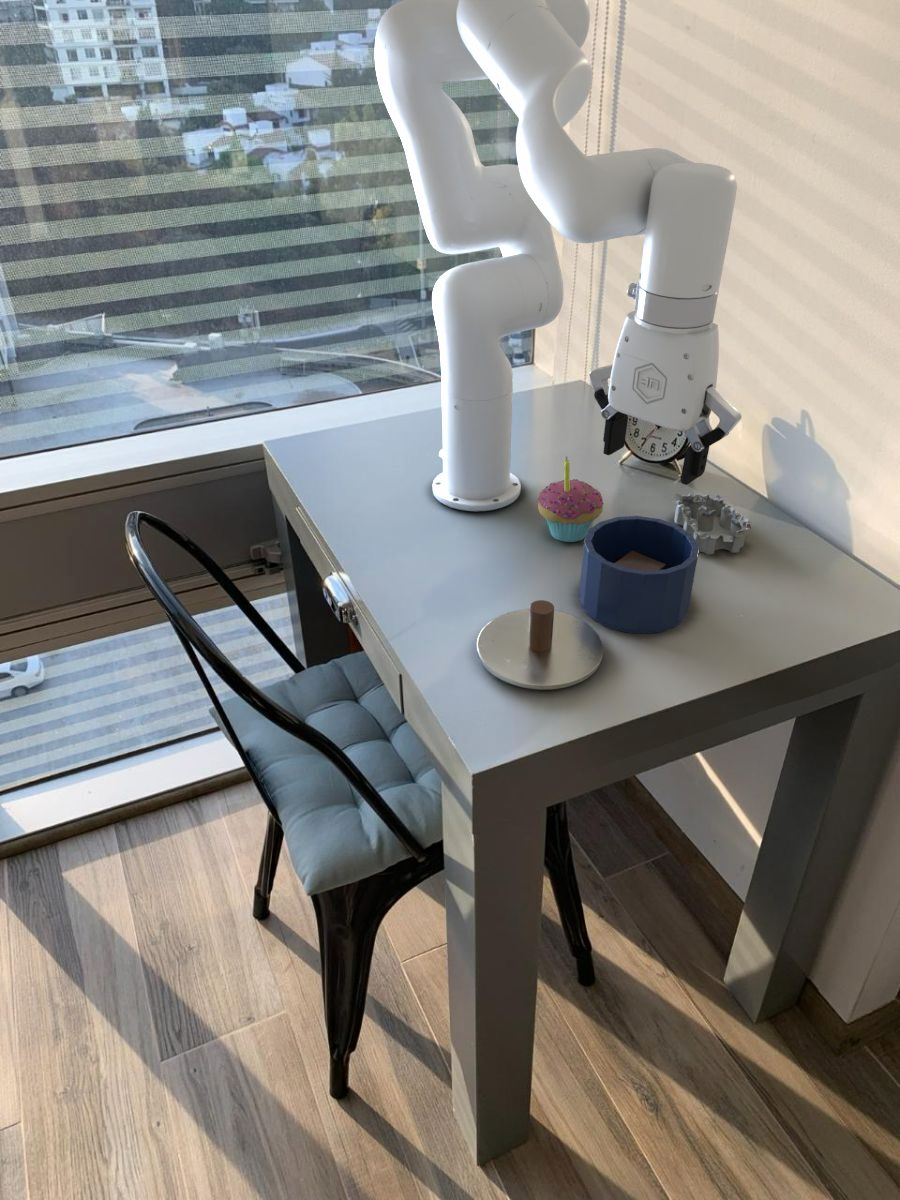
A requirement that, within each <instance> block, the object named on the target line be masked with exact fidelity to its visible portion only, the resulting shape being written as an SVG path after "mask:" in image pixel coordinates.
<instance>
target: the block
mask: <svg viewBox="0 0 900 1200" xmlns="http://www.w3.org/2000/svg"><path fill="white" fill-rule="evenodd" d="M614 564H616V565H619V566H621V567H624V568H630V569H637V570H643V571H649V570H665V568H666V564H664V563H661V562H659V561H656V560H654V559H651V558H649V557H647V556H644V555H642V554H639V553H637V552H634V551H631V552H630V553H628V554H627V555H625V556H624V557H623V558H621V559H620V560H618V561H617V562H616V563H614Z"/></svg>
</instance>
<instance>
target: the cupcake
mask: <svg viewBox="0 0 900 1200" xmlns="http://www.w3.org/2000/svg"><path fill="white" fill-rule="evenodd" d="M570 465H571V464H570V460H569V459H568V455H565V460H564V461H563V466H564V468H563V470H564V471H563V473H564V475H563V477H564V479H562V480H559V481H555V482H553V483H552V482H551V483H549V485H547V486H545V488H544V489H542V490H541V491H540V492H539V496H538V499H537V500H538V501H537V506H538V507H537V508H538V511H539V513H540V515H541V516H542V517H543V518H545V520H546V522H547V526H548V530H549V533H550V535H551V537H553V538H554V539H556V540H557V541H560V542H565V543H576V542H580V541H582V540H583V539H585V537H586V534H587V532H588V530H589V529H591V526H592V524H593V522H595V520H597V519H598V518H599V517H600V516H601V515H602V514H603V512H604V501H603V500H604V499H603V496H602V493H601V492H600V491H599V490H598V488H595V487H594V486H592V485H590V484H589V483H587V482H585V481H583V480H579V479H577V478H576V479H575V478H573V479H570V478H571V477H570V476H571V475H570V474H571V473H570V470H571V467H570Z"/></svg>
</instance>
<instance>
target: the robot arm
mask: <svg viewBox="0 0 900 1200" xmlns="http://www.w3.org/2000/svg"><path fill="white" fill-rule="evenodd" d="M588 1H589V0H401V1H398V2H396V3H395V4H393V5H391V6H390V7H388V9H387V10H386V11H385V12H384V14H383V15H382V16H381V18H380V20H379V22H378V24H377V29H376V33H375V39H374V66H375V73H376V78H377V83H378V87H379V90H380V94H381V96H382V100H383V103H384V105H385V107H386V109H387V112H388V114H389V116H390V118H391V121H392V122H393V124H394V126H395V128H396V131H397V133H398V136H399V137H400V140H401V143H402V146H403V149H404V152H405V156H406V161H407V166H408V171H409V173H410V177H411V180H412V185H413V188H414V193H415V197H416V201H417V205H418V208H419V212H420V216H421V220H422V224H423V227H424V230H425V233H426V236H427V239H428V240H429V243H430V245H431V246H432V248H434V249H435V250H436V251H437V252H440V253H442V254H445V255H446V254H447V255H459V254H460V255H461V254H466V253H473V252H474V253H475V252H479V251H483V250H490V249H494V248H499V249H500V252H501V254H502V256H500V257H492V258H487V259H486V258H485V259H481V260H476V261H472V262H466V263H463V264H459V265H457V266H455V267H452V268H450V269H448V270H447V271H445V272H444V273H443V274H442V275H441V276H440V277H439V278H438V279H437V281H436V282H435V285H434V287H433V290H432V294H431V303H432V312H433V317H434V322H435V323H434V324H435V327H436V331H437V332H436V333H437V336H438V339H437V340H438V345H439V346H438V347H439V354H440V372H441V418H442V419H441V420H442V421H441V422H442V424H441V425H442V431H441V432H442V449H440V450H439V452H438V456H439V458H440V459H442V472H441V473H439V474H438V475H437V476H436V477H435V478H434V479H433V482H432V494H433V496H434V498H435V499H436V500H437V501H438V502H440V503H442V504H443V505H444V506H447V507H449V508H451V509H456V510H459V511H465V512H488V511H494V510H498V509H501V508H504V507H507V506H509V505H511V504H512V503H515V501H516V500H517V499H518V498H519V496H520V495H521V489H522V488H521V486H522V485H521V481H520V479H519V478H518V477H517V476H516V475H515V474H514V473H512V472H511V457H512V456H511V455H512V429H513V426H512V425H513V397H514V372H513V368H512V364H511V362H510V360H509V358H508V356H507V355H506V354H505V352H504V351H503V349H502V348H501V346H500V339H502V338H504V337H508V336H510V335H513V334H517V333H522V332H526V331H530V330H535V329H537V328H542V327H544V326H546V325H549V324H550V323H552V322H553V321H554V320H555V319H556V318H557V317H558V316H559V314H560V312H561V310H562V307H563V304H564V303H563V302H564V295H565V294H564V293H565V292H564V282H563V276H562V269H561V265H560V261H559V256H558V251H557V247H556V242H555V239H554V233H553V229H555V230H556V231H557V232H558V233H559V234H560V235H561V236H563V237H564V238H566V239H568V240H570V241H571V242H573V243H578V244H592V243H598V242H599V243H600V242H602V241H603V242H604V241H609V240H614V239H618V238H619V239H620V238H623V237H624V238H625V237H632V236H633V237H634V236H640V235H644V238H643V239H644V240H643V248H642V256H641V263H640V269H639V271H640V272H639V279H638V282H637V283H635V282H631V283H630V284H629V285H628V287H627V291H626V293H627V297H630V298H633V299H634V309H635V310H633V311H630V312H628V313H627V314H626V317H625V320H624V322H623V325H622V328H621V331H620V334H619V338H618V341H617V345H616V349H615V353H614V357H613V361H612V364H608V365H604V366H600V367H597V368H595V369H593V370H591V371H589V380H590V382H591V386H592V389H593V390H594V393H593V396H594V400H595V401H596V403H597V404H598V406H599V408H600V409H601V412H600V414H601V418H603V420H605V421H604V431H603V439H602V441H603V443H604V444H603V452H602V453H603V454H604V455H606V456H611V455H613V454H615V453H616V452H618V451H620V450H621V449H623V448H624V447H625V445H626V437H627V430H628V421H629V416H630V417H633V418H635V419H638V420H640V421H644V422H646V423H649V424H652V425H655V426H659V427H662V428H665V429H668V430H669V431H670V430H671V431H673V432H683V433H684V434H685V436H686V438H687V440H688V442H689V444H690V446H689V447H688V448H687V449H686V450H685V453H684V457H683V458H684V459H683V464H682V469H681V475H680V482H681V484H683V485H685V486H688V485H689V484H691V483H692V482H694V481H695V480H697V479H698V478H700V477H701V476H703V474H704V473H705V470H706V466H707V461H708V457H709V451H710V447H711V446H712V445H714V444H716V443H718V442H720V441H721V440H723V439H724V438H725V437H727V436H728V435H729V434H730V432H731V431H732V430H733V429H734V428H735V427H736V426H737V424H738V423H739V422H740V421H741V420H742V413H740V411H738V410H737V408H736V407H734V406H733V405H732V403H730V402H729V401H728V400H727V399H726V398H725V397H724V396H723V395H722V394H721V393H720V392H719V391H717V390H716V389H717V381H718V372H719V357H720V356H719V354H720V338H719V325H718V324H717V323H715V322H714V320H715V314H716V308H717V303H718V297H719V291H720V286H721V281H722V276H723V270H724V264H725V258H726V253H727V247H728V242H729V236H730V231H731V224H732V220H733V213H734V208H735V203H736V198H737V190H738V185H737V184H738V183H737V178H736V176H735V174H734V173H733V172H732V171H731V170H730V169H728V168H726V167H723V166H720V165H717V164H712V163H703V162H694V161H691V160H690V159H688V158H685V157H683V156H682V155H680V154H679V153H676V152H674V151H672V150H669V149H666V148H661V147H649V148H641V149H633V150H621V151H614V152H606V153H598V154H592V155H585V153H584V152H582V151H581V150H580V148H579V147H578V146H577V145H576V143H575V142H574V141H573V140H572V139H571V137H570V136H569V134H568V133H567V132H566V131H565V129H564V128H565V127H566V126H567V125H568V124H569V123H570V122H571V121H572V120H573V118H575V116H577V114H578V113H579V111H580V110H581V109H582V107H583V106H584V104H585V103H586V101H587V99H588V98H589V97H588V96H589V94H590V91H591V90H592V89H591V88H592V86H593V85H592V84H593V75H594V73H593V68H592V64H591V61H590V60H589V58H588V56H587V55H586V54H585V53H584V52H583V51H582V50H581V49H582V47H583V45H584V44H585V42H586V40H587V37H588V33H589V29H590V21H591V17H590V16H591V13H590V12H591V11H590V5H589V2H588ZM478 80H481V81H482V80H489V81H490V82H491V83H492V85H493V86H494V87H495V89H496V90H497V91H498V92H499V94H500V95H501V96H502V98H503V99H504V100H505V102H506V104H507V105H508V106H509V107H510V109H511V110H512V111H513V113H514V114H515V115H516V116H517V119H518V123H517V127H516V133H515V134H516V135H515V151H516V160H517V164H513V163H511V164H510V163H504V164H503V163H502V164H495V165H494V164H493V165H487V166H485V165H484V164H482V162H481V159H480V157H479V154H478V151H477V148H476V143H475V139H474V134H473V131H472V128H471V125H470V122H469V121H468V119H467V118H466V116H465V114H464V113H463V112H462V110H461V108H460V107H459V106H458V105H457V103H456V102H455V100H453V99H452V98H451V96H449V95H448V94H447V93H446V92H445V91H444V90H443V88H442V83H449V82H450V83H451V82H464V81H465V82H468V81H478ZM552 227H553V229H552ZM711 413H713V414H715V415H716V416H717V417H718V419H719V422H718V424H717V425H716V426H715V428H713V427H712V425H711V423H710V421H709V417H710V416H711Z"/></svg>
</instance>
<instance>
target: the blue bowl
mask: <svg viewBox="0 0 900 1200" xmlns="http://www.w3.org/2000/svg"><path fill="white" fill-rule="evenodd" d="M631 551H634V552H637V553H639V554H642V555H644V556H647V557H649V558H651V559H654V560H656V561H659V562H661V563H664V564H666V568H665V570H649V571H643V570H637V569H630V568H624V567H621V566H619V565H616V564H614V563H616V562H617V561H618V560H620V559H621V558H623V557H624V556H625V555H627V554H628V553H630V552H631ZM699 553H700V551H699V545H698V544H697V542H696V540H695V539H694V537H693V536H692V535H691V534H690V533H688V532H687V531H685V530H684V529H683V528H682V527H681V525H678V524H676V523H672V522H670V521H667V520H664V519H661V518H656V517H648V516H642V515H623V516H616V517H612V518H609V519H604V520H602V521H599V522H598V523H597V524H595V525H593V526H592V527H590V528H589V530H588V532H587V534H586V536H585V538H584V540H583V548H582V559H581V570H580V571H581V572H580V582H579V595H578V596H579V601H580V605H581V607H582V610H583V611H584V612H585V613H586V614H587V616H589V618H591V619H592V620H594V621H595V622H597V623H598V624H600V625H602V626H604V627H607V628H609V629H612V630H615V631H618V632H623V633H628V634H629V633H630V634H638V635H639V634H640V635H641V634H643V635H644V634H656V633H661V632H664V631H668V630H670V629H673V628H674V627H676V626H678V625H680V624H681V623H682V622H683V621H684V620H685V619H686V618H687V615H688V613H689V609H690V603H691V597H692V592H693V585H694V581H695V574H696V570H697V565H698V564H697V563H698V557H699Z"/></svg>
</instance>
